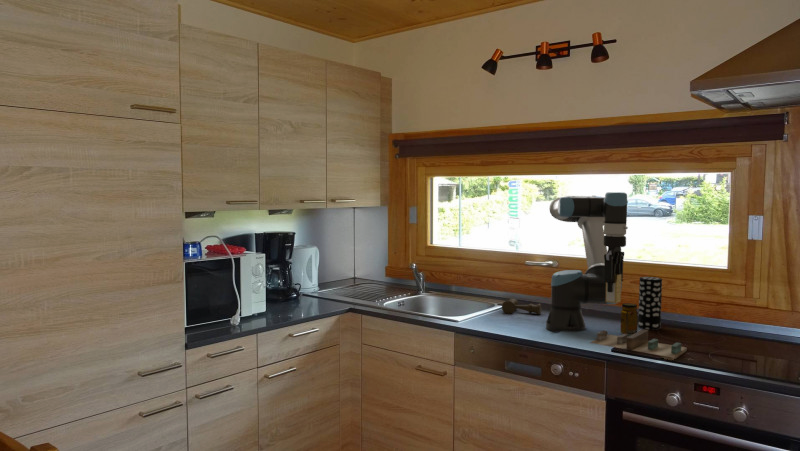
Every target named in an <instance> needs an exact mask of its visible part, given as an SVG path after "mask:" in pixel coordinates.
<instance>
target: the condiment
mask: <svg viewBox="0 0 800 451" xmlns="http://www.w3.org/2000/svg"><path fill="white" fill-rule="evenodd" d="M637 307H638V305H637V304H635V303H632V302H631V303H629V302H625V303H622V305H621V308H622V310H621V311H620V334H621V333H622V334H628V335H633V334H635V333H637V332H638V317H639V311H638V308H637Z"/></svg>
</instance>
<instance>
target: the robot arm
mask: <svg viewBox="0 0 800 451" xmlns="http://www.w3.org/2000/svg"><path fill="white" fill-rule="evenodd" d="M628 203H629V202H628V194H627V193H626V192H623V191H621V192H618V191H617V192H616V191H615V192H613V191H612V192H606V193H605V195H604V196H598V195H590V196H589V195H588V196H587V195H564V196H560V197H556V198H554V199H553V200H552V201H551V202H550V205H549V214H551V216H552V217H553V218H554V219H556V220H558V221H560V222H565V223H577V226H578V227H579V229H581V231H582V238H583V243H584V252H585V258H586V265H587V270H586V271H585V272H583V271H582V270H580V269H566V270H561V271H557V272H554V273H552V275H551V280H550V282H551V283H550V286H551V288H550V289H551V294H550V311H549V313H548V316H547V319H546V323H545V329H547V331H550V332H555V333H560V332H582V331H584V330H586V322H585V319H584V315H583V313H582V304H584V305H585V304H588V305H590V304H591V305H606V306H607V305H616V304H617V303H612V302H605V301H615V283H614V279H615V273H616V274H621V291H622V290H623V288H622V287H623V281H624V279H623V278H624V258H625V252H624V251H622V248H624V247H626V246H627V237H626V235H627V230H628V228H629V227H628V226H627V221H628V220H627V218H628ZM606 283H607V300H606Z"/></svg>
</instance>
